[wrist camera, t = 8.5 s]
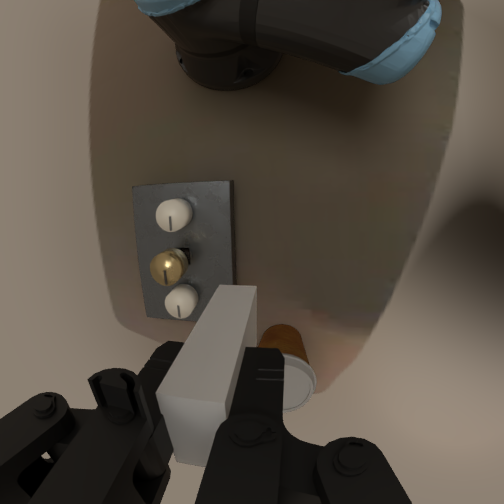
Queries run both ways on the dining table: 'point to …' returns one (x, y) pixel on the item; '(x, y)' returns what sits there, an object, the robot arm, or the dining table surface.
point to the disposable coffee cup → (292, 365)
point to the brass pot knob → (169, 266)
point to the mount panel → (187, 241)
